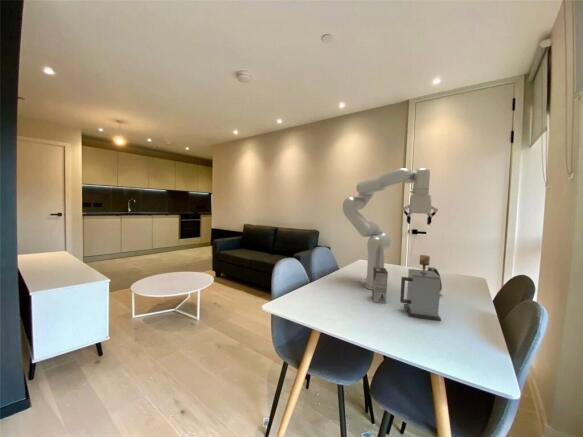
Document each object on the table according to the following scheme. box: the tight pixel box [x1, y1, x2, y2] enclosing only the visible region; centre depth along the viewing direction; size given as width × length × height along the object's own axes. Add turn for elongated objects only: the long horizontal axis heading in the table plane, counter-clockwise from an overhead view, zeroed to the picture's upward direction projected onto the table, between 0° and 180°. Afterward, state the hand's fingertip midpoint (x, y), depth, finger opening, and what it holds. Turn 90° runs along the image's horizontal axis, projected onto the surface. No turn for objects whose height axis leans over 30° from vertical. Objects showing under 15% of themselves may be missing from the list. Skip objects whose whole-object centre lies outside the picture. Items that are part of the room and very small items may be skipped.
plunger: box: [419, 254, 431, 274], centre depth 117 cm, size 9×9×20 cm
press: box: [399, 268, 442, 322], centre depth 118 cm, size 16×13×19 cm
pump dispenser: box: [426, 266, 443, 293], centre depth 145 cm, size 10×10×15 cm
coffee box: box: [371, 267, 389, 304], centre depth 133 cm, size 9×6×16 cm
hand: (418, 224), depth 136 cm, fingers open, 9 cm apart
